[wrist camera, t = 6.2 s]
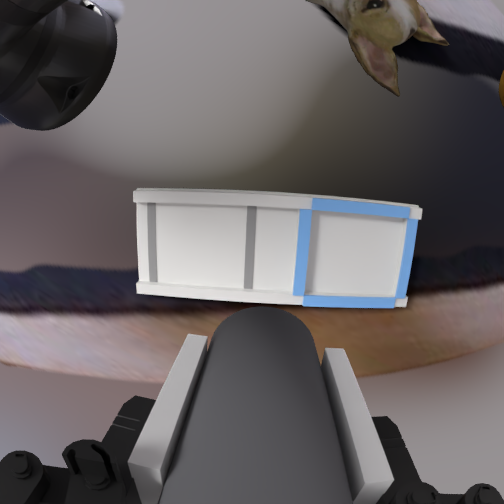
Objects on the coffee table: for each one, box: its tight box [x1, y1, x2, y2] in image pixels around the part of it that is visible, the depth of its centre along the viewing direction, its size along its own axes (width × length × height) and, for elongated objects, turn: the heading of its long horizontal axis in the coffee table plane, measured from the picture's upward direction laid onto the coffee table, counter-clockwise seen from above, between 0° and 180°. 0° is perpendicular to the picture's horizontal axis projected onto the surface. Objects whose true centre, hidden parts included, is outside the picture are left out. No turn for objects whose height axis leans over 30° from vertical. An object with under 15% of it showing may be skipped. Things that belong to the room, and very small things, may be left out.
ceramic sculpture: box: [306, 0, 449, 96], centre depth 19 cm, size 11×9×15 cm
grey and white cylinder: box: [158, 307, 353, 504], centre depth 8 cm, size 5×5×11 cm
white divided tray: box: [133, 188, 422, 308], centre depth 28 cm, size 10×26×2 cm, turn 87°
